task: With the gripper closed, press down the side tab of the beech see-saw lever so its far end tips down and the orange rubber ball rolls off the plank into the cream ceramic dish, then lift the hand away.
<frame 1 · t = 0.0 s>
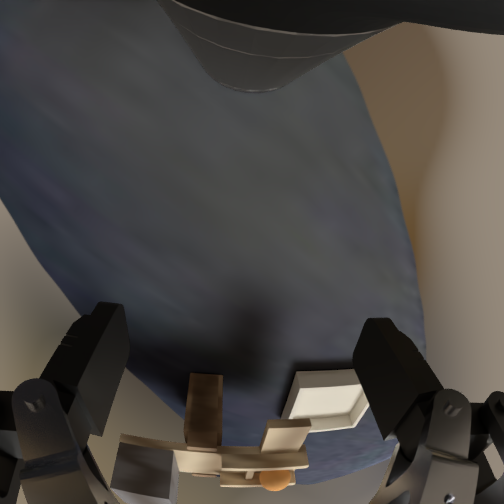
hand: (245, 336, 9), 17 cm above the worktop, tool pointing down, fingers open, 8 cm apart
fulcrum: (206, 396, 36), on the worktop
dish: (327, 396, 37), on the worktop
ball: (273, 465, 27), point 10 cm above the worktop, touching lever
lever: (211, 474, 23), point 13 cm above the worktop, hinge at 0.0°, touching ball
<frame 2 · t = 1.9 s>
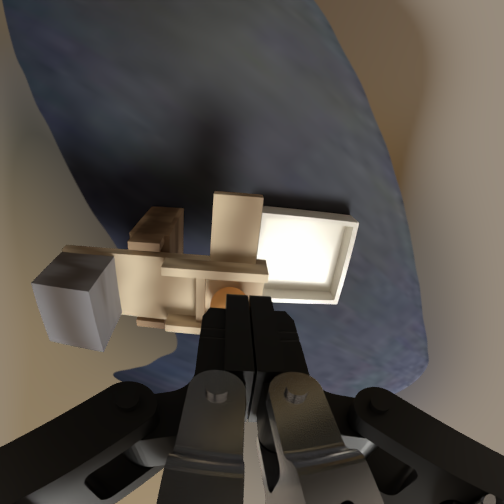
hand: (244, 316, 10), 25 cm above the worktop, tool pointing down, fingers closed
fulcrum: (167, 243, 36), on the worktop
dish: (299, 253, 38), on the worktop
ball: (230, 295, 27), point 10 cm above the worktop, touching lever
lever: (147, 275, 23), point 13 cm above the worktop, hinge at 0.0°, touching ball
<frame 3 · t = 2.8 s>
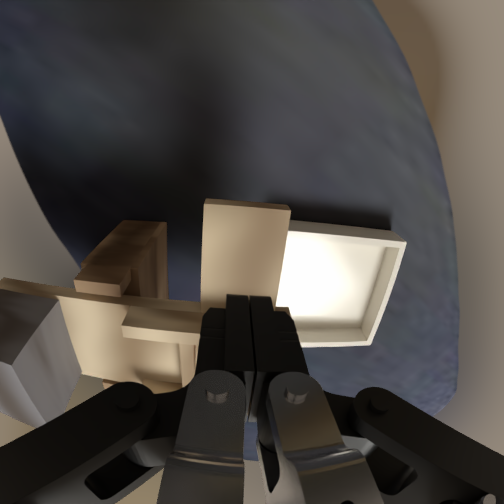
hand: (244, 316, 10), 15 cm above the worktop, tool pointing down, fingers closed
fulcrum: (146, 270, 26), on the worktop
dish: (325, 282, 28), on the worktop
lever: (101, 338, 13), point 13 cm above the worktop, hinge at 0.0°, touching ball
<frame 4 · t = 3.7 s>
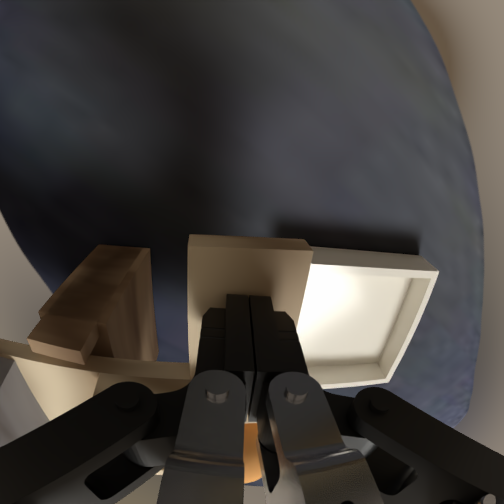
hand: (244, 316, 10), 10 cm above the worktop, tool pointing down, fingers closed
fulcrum: (129, 303, 21), on the worktop
dish: (341, 315, 23), on the worktop
ball: (233, 422, 13), point 10 cm above the worktop, tilted 9°, touching lever
lever: (68, 420, 8), point 13 cm above the worktop, hinge at 5.0°, touching ball, gripper
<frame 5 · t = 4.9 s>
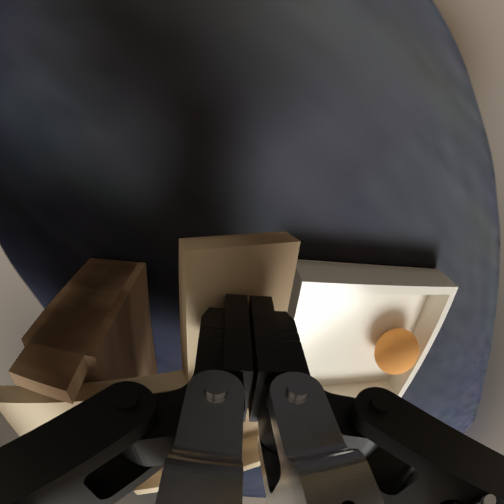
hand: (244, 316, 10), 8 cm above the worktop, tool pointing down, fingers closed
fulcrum: (124, 320, 19), on the worktop
dish: (353, 333, 21), on the worktop
ball: (375, 345, 20), point 1 cm above the worktop, tilted 59°, touching dish
lever: (80, 460, 7), point 12 cm above the worktop, hinge at 22.1°, touching gripper
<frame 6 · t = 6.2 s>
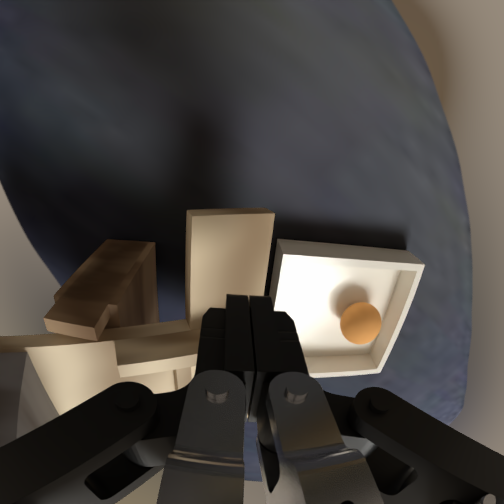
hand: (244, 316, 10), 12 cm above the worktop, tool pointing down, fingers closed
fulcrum: (134, 294, 23), on the worktop
dish: (333, 307, 24), on the worktop
ball: (347, 312, 24), point 1 cm above the worktop, tilted 22°, touching dish
lever: (99, 386, 11), point 12 cm above the worktop, hinge at 22.1°
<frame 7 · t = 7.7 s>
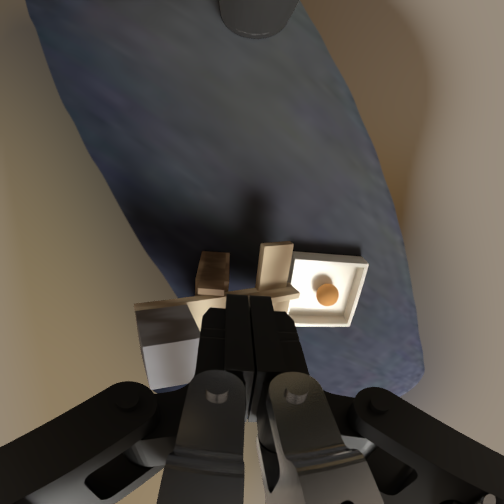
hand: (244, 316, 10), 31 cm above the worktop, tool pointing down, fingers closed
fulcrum: (214, 280, 45), on the worktop
dish: (320, 287, 46), on the worktop
ball: (328, 289, 46), point 1 cm above the worktop, tilted 20°, touching dish
lever: (228, 313, 32), point 12 cm above the worktop, hinge at 22.1°
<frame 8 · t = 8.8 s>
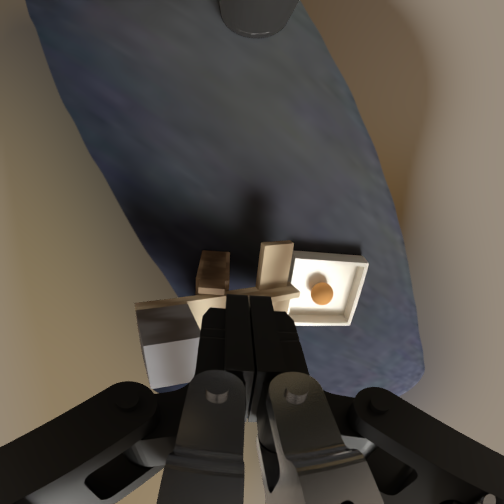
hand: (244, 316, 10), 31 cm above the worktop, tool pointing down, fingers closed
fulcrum: (214, 280, 45), on the worktop
dish: (321, 286, 46), on the worktop
ball: (328, 290, 45), point 1 cm above the worktop, tilted 51°, touching dish
lever: (228, 312, 32), point 12 cm above the worktop, hinge at 22.1°
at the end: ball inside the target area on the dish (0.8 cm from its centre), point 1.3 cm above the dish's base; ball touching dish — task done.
